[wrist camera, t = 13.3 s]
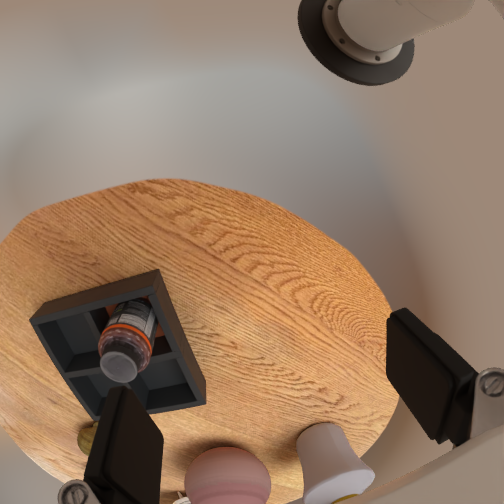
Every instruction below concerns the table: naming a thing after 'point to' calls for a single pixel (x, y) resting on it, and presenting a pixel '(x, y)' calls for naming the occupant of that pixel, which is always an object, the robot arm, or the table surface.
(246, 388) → the table surface
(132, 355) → the supplement bottle
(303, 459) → the soap bottle
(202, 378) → the compartment organizer
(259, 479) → the pink round ball
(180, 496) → the alarm clock
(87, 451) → the seashell
